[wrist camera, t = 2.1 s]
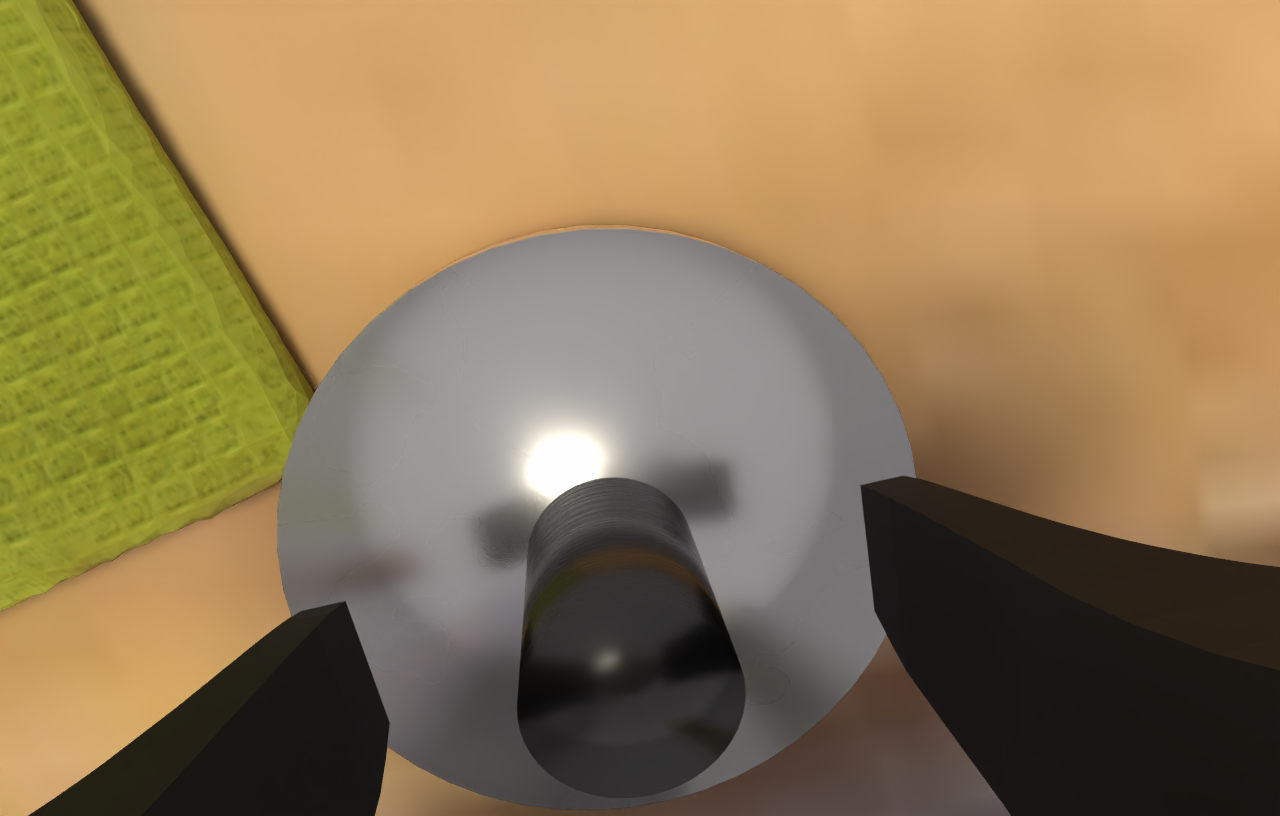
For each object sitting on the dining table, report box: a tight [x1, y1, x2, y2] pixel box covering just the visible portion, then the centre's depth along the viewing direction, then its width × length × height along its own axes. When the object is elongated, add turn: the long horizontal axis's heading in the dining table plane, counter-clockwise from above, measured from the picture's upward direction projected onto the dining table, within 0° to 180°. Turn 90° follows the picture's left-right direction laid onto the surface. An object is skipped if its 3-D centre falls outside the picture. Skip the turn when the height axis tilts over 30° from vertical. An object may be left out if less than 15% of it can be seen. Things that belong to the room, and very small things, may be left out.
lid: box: [277, 225, 916, 810], centre depth 11 cm, size 10×10×5 cm
